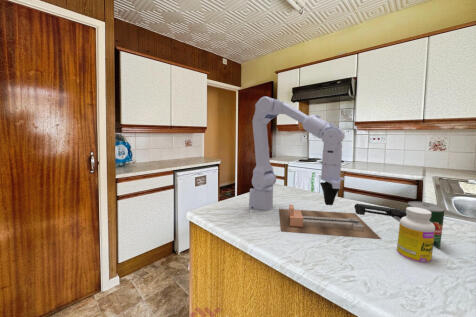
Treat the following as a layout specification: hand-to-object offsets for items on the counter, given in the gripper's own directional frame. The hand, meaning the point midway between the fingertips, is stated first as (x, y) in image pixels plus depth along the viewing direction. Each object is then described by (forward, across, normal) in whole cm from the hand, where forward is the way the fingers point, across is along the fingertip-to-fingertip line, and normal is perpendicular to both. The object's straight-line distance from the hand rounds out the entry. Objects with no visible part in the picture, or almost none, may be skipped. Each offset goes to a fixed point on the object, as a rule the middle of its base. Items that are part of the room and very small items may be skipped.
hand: (328, 204), depth 72 cm
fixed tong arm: (+6, -4, +1) cm, 7 cm away
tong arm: (+6, -1, 0) cm, 6 cm away
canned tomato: (+8, -7, -24) cm, 26 cm away
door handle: (+8, +10, -22) cm, 26 cm away
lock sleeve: (+6, -3, +11) cm, 13 cm away
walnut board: (+8, 0, +2) cm, 8 cm away
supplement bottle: (+8, -17, -16) cm, 25 cm away
